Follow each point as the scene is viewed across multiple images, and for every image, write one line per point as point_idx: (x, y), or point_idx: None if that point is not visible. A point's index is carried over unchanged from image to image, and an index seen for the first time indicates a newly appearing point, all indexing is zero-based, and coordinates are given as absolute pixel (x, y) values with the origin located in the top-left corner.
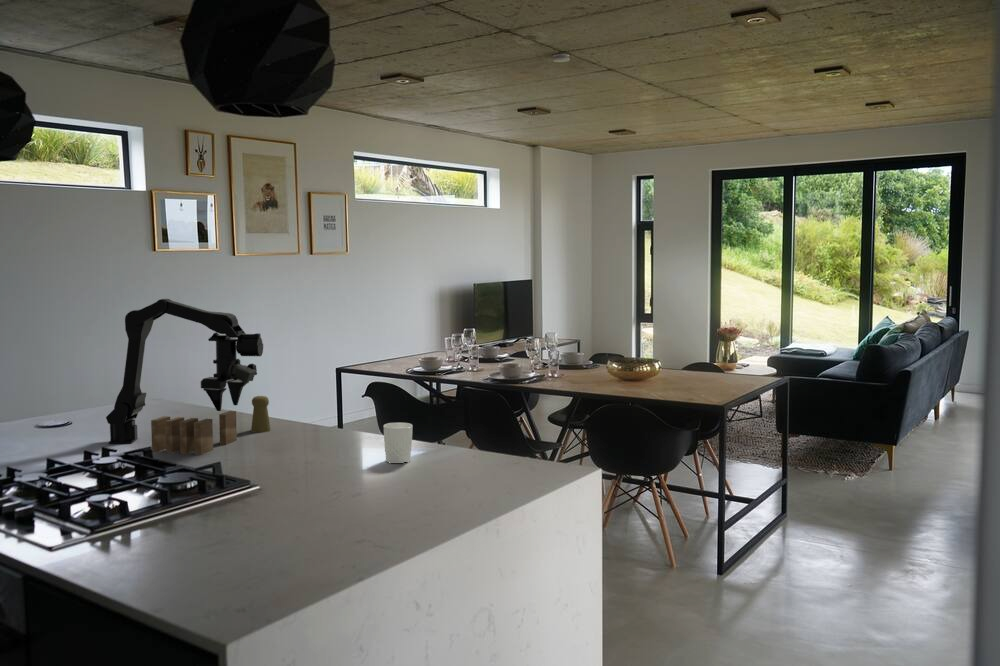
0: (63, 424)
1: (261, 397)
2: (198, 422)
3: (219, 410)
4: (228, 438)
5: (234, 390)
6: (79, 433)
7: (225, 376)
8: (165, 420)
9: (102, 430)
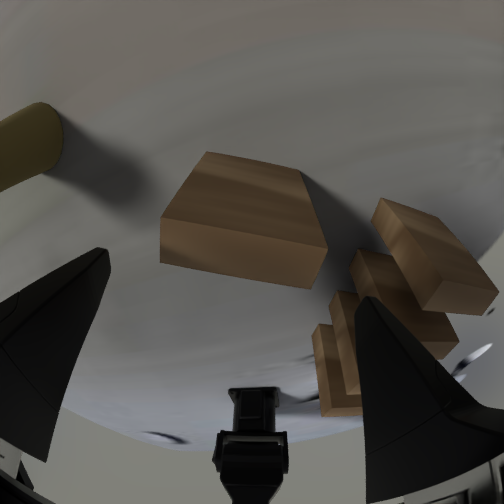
0: (161, 435)
1: None
2: (484, 304)
3: (374, 301)
4: (278, 172)
5: (42, 370)
6: (204, 428)
7: None
8: (354, 400)
9: (177, 418)
